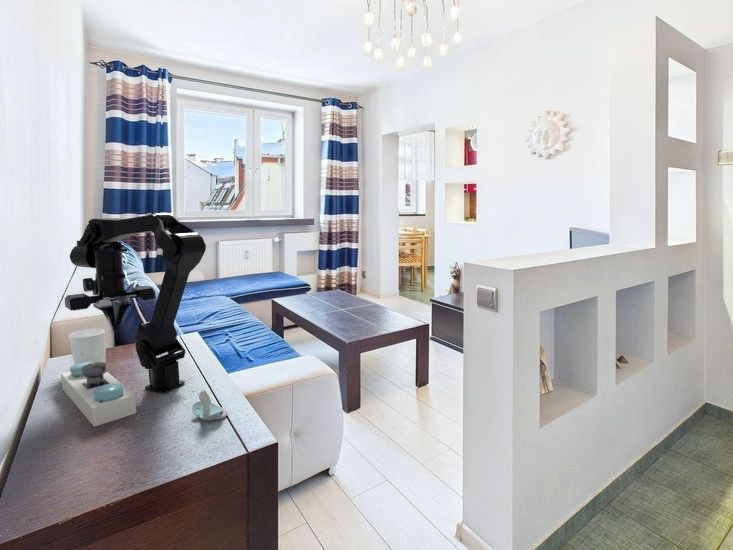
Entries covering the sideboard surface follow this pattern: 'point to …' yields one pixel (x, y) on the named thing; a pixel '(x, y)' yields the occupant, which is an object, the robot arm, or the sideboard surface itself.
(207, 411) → the pacifier
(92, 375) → the pot dial
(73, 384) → the knob housing
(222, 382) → the sideboard surface
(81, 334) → the white cup
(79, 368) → the far knob
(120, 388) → the near knob
